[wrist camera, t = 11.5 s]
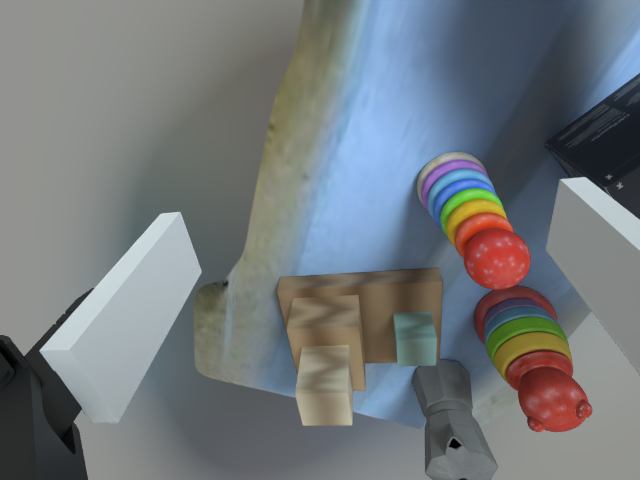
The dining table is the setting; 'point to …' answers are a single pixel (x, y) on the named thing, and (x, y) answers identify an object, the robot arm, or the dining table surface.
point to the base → (366, 316)
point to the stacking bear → (532, 357)
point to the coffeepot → (451, 424)
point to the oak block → (325, 385)
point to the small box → (606, 146)
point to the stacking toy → (473, 219)
